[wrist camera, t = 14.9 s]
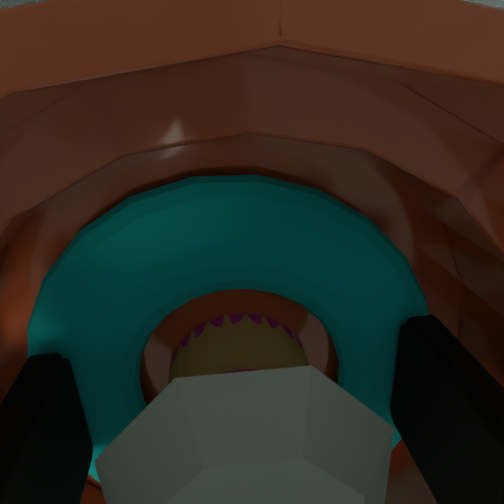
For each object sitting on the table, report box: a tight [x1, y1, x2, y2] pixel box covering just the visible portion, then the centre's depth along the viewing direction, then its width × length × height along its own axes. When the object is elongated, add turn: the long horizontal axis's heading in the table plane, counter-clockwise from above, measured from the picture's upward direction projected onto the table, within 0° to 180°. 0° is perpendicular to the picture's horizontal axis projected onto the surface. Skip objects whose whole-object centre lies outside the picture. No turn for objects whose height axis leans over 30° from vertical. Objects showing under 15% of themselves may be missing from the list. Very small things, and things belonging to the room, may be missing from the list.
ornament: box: [27, 174, 429, 504], centre depth 9 cm, size 11×4×10 cm
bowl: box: [0, 0, 504, 504], centre depth 9 cm, size 15×15×6 cm
